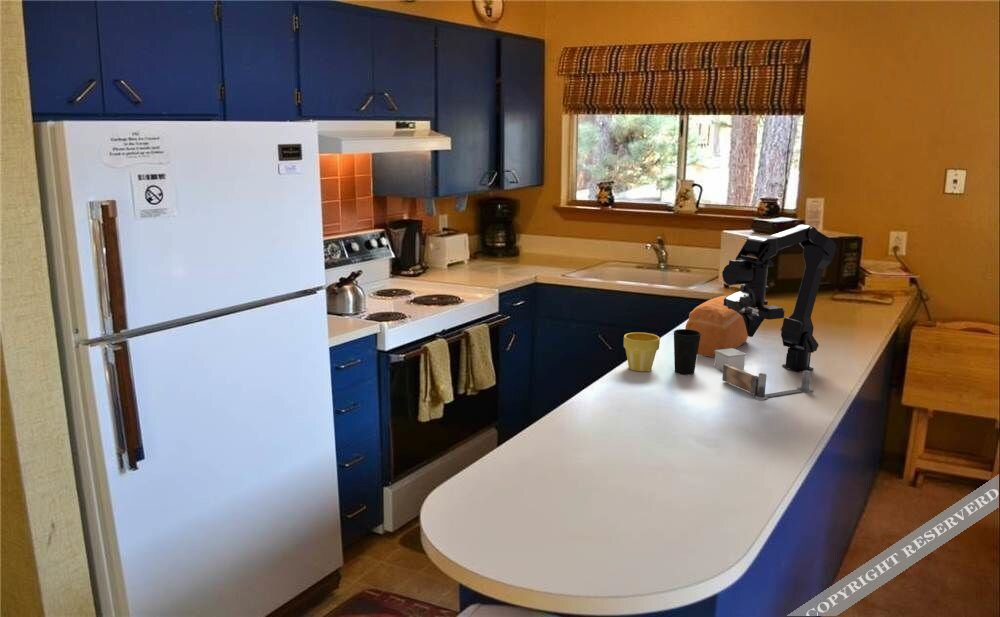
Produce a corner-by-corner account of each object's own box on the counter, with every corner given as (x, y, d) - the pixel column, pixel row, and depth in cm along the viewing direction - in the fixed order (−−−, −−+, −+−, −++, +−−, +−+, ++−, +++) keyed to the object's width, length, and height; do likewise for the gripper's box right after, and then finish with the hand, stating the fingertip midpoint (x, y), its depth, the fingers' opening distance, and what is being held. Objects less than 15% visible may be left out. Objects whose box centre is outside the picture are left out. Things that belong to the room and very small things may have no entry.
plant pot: (636, 361, 249) (637, 330, 246) (664, 368, 242) (666, 336, 239) (615, 367, 242) (616, 335, 239) (643, 376, 234) (645, 343, 232)
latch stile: (804, 387, 227) (806, 369, 225) (813, 391, 224) (815, 372, 223) (796, 389, 225) (798, 370, 224) (804, 392, 223) (806, 373, 221)
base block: (730, 364, 248) (732, 348, 247) (744, 370, 242) (746, 353, 241) (713, 366, 245) (714, 350, 244) (727, 372, 240) (728, 356, 239)
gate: (759, 393, 219) (760, 377, 218) (754, 394, 219) (756, 378, 218) (726, 379, 231) (727, 364, 230) (722, 380, 230) (723, 364, 229)
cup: (698, 377, 234) (701, 336, 232) (670, 375, 236) (673, 334, 233) (697, 369, 242) (700, 330, 239) (671, 367, 243) (673, 328, 240)
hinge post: (760, 394, 220) (763, 371, 219) (770, 399, 217) (772, 375, 216) (750, 396, 219) (752, 373, 217) (759, 400, 216) (762, 377, 214)
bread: (680, 352, 259) (683, 303, 256) (710, 335, 280) (713, 290, 277) (722, 360, 252) (726, 310, 248) (750, 341, 273) (754, 295, 269)
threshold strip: (796, 390, 225) (797, 389, 225) (802, 392, 223) (802, 391, 223) (762, 395, 220) (762, 394, 219) (767, 398, 218) (767, 397, 218)
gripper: (710, 277, 232) (706, 331, 236) (756, 290, 216) (750, 347, 219) (741, 275, 237) (736, 327, 240) (788, 288, 220) (782, 344, 224)
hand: (750, 336), depth 231 cm, fingers closed
